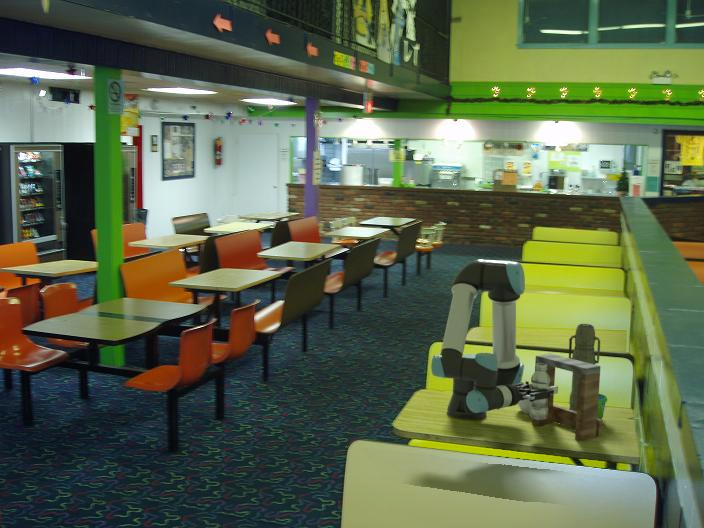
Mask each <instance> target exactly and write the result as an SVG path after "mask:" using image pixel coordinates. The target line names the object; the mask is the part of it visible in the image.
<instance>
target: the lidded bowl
mask: <svg viewBox="0 0 704 528" xmlns="http://www.w3.org/2000/svg"><path fill="white" fill-rule="evenodd" d="M530 406H531V402H530V399H525V400H520V401H519V402H518V404H517V407H518V408H519V409H520V410H521V412H522V413H523V412H524V414H525V415H526V414H527V415H530V413H529V410H530Z"/></svg>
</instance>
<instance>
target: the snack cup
mask: <svg viewBox="0 0 704 528" xmlns="http://www.w3.org/2000/svg"><path fill="white" fill-rule="evenodd" d="M607 402H608V396H607V395H604V394H602V393H599V398H598V413H597V418H598V419H602V420H603V417H604V413H605V406H606V403H607Z"/></svg>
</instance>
